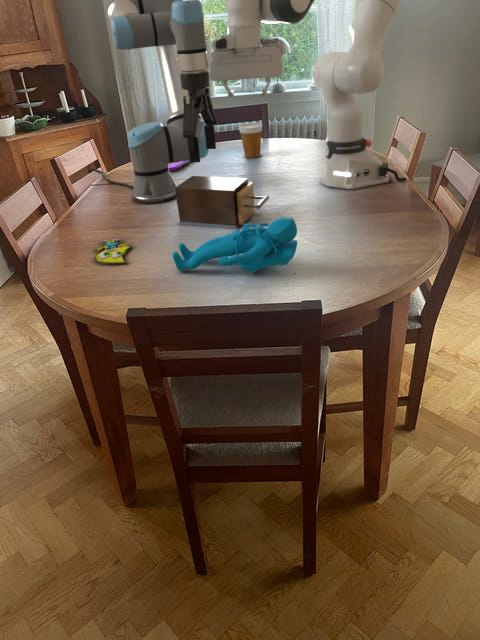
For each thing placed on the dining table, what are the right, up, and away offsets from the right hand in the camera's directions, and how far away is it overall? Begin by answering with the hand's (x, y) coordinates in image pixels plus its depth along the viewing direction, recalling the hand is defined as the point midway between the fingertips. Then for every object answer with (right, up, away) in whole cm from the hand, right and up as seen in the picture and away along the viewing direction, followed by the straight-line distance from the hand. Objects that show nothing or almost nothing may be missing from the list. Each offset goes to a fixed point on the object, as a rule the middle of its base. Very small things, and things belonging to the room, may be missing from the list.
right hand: (247, 96), depth 134 cm
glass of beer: (+3, +7, +68) cm, 68 cm away
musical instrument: (-29, +3, +66) cm, 73 cm away
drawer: (-5, -32, +8) cm, 33 cm away
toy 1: (-37, -45, -5) cm, 58 cm away
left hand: (-12, -16, +1) cm, 20 cm away
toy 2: (-3, -50, -19) cm, 54 cm away
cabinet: (-10, -32, +10) cm, 35 cm away
